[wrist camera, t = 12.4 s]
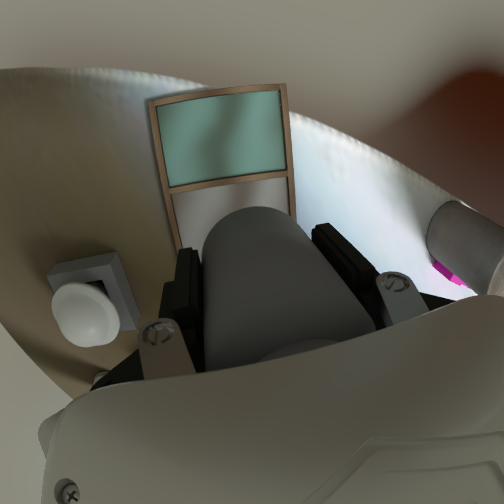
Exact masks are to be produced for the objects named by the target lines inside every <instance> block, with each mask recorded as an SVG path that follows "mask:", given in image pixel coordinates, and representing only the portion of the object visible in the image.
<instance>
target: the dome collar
mask: <svg viewBox="0 0 504 504" xmlns="http://www.w3.org/2000/svg"><path fill="white" fill-rule="evenodd" d="M47 279H48V281H49V283H50V285H51V287H52V290H53V292H54V294H55V293H56V291H57V290H58V289H59V288H60V287H61V286H62V285H64V284H66V283H70V282H80V283H84V282H90V281H96V280H103V283H104V285H105V288H106V290H107V292H108V295H109V297H110V299H111V301H112V302H113V304H114V305H115V307H116V309H117V310H118V313H119V316H120V328H119V332H120V331H130V330H137V327H138V323H139V319H140V315H141V314H140V311H139V309H138V306H137V304H136V301H135V299H134V296H133V294H132V291H131V288H130V286H129V283H128V280H127V278H126V275H125V272H124V269H123V266H122V264H121V261H120V258H119V255H118V252H117V251H116V252H111V253H106V254H101V255H96V256H91V257H86V258H81V259H76V260H71V261H66V262H61V263H57V264H56V265H55V266H54V267H53V268H52V270H51V271H50V272H49V273H48V275H47Z"/></svg>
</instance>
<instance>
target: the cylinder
mask: <svg viewBox="0 0 504 504" xmlns="http://www.w3.org/2000/svg"><path fill="white" fill-rule="evenodd" d="M201 267H202V307H203V333H204V353H205V369H206V372H208V371H215V370H221V369H227V368H232V367H238V366H243V365H248V364H253V363H258V362H263V361H268V360H272V359H277V358H281V357H285V356H290V355H294V354H298V353H302V352H306V351H310V350H314V349H317V348H321V347H325V346H328V345H332V344H336V343H339V342H342V341H346V340H349V339H352V338H356V337H359V336H362V335H365V334H368V333H372V332H375V331H376V328H375V324H374V322H373V320H372V318H371V317H370V316H369V314H368V313H367V312H366V310H365V309H364V308H363V306H362V305H361V303H360V302H359V301H358V299H357V298H356V297H355V296H354V294H353V293H352V292H351V290H350V289H349V288H348V286H347V285H346V284H345V282H344V281H343V280H342V278H341V277H340V276H339V275H338V273H337V272H336V271H335V270H334V268H333V267H332V266H331V264H330V263H329V262H328V261H327V259H326V258H325V257H324V256H323V254H322V253H321V252H320V251H319V249H318V248H317V247H316V246H315V244H314V243H313V242H312V241H311V239H310V238H309V237H308V236H307V235H306V233H305V232H304V231H303V230H302V228H301V227H300V226H299V225H298V224H297V222H296V221H295V220H294V219H293V218H291V217H290V216H289V215H287V214H286V213H284V212H282V211H280V210H278V209H274V208H271V207H265V206H253V207H247V208H242V209H239V210H237V211H234V212H232V213H230V214H228V215H227V216H225V217H224V218H222V219H221V220H220V221H219V222H218V223H216V224H215V226H214V227H213V228H212V229H211V230H210V232H209V234H208V235H207V237H206V239H205V241H204V244H203V248H202V254H201Z"/></svg>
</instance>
